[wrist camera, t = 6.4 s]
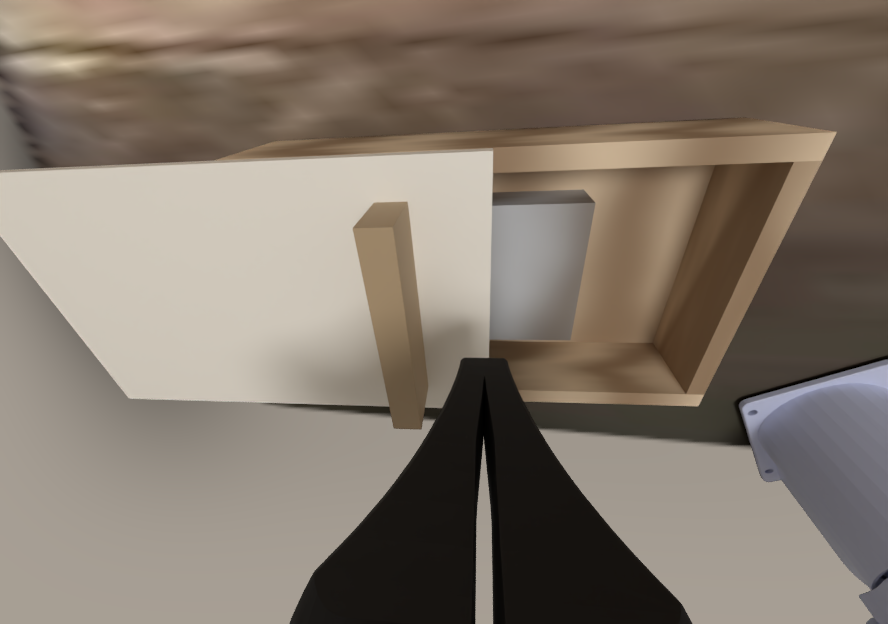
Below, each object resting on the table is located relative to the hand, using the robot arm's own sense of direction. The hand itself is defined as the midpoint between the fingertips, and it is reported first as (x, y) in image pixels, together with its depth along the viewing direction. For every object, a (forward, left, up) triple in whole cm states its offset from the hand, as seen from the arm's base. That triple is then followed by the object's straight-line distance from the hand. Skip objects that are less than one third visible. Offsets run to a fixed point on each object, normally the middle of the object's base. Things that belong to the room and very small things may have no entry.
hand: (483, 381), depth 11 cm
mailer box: (0, 0, -9) cm, 9 cm away
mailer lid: (+5, +8, -5) cm, 11 cm away
